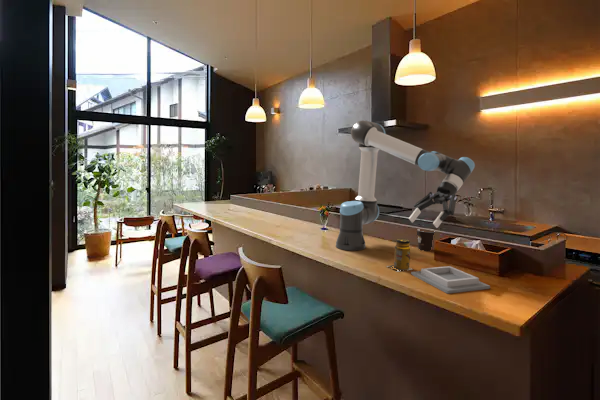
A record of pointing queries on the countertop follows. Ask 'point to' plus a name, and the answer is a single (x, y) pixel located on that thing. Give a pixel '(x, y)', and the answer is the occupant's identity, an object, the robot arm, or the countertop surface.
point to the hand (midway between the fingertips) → (422, 223)
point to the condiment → (402, 255)
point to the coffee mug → (425, 240)
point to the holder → (450, 279)
